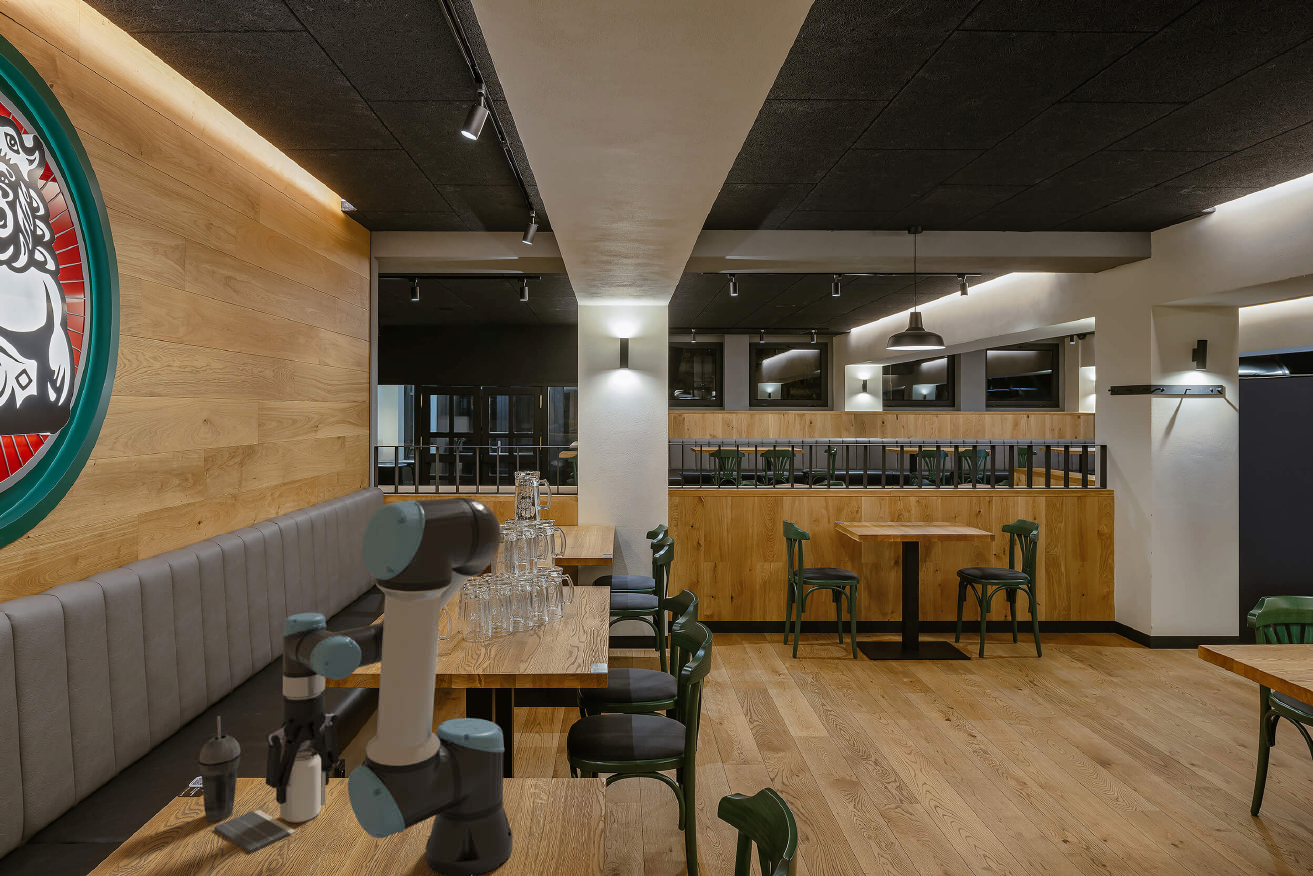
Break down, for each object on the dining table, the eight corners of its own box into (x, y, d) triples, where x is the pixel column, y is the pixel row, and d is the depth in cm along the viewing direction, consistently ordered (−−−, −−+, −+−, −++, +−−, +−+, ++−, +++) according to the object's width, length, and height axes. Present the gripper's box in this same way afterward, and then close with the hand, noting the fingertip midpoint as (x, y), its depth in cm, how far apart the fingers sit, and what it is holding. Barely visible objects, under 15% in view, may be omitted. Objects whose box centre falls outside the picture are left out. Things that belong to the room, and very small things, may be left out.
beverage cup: (244, 804, 146) (245, 705, 146) (235, 822, 139) (236, 719, 139) (203, 809, 144) (204, 709, 144) (192, 828, 137) (193, 723, 137)
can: (305, 825, 138) (306, 763, 138) (276, 822, 139) (277, 760, 139) (327, 808, 144) (328, 749, 144) (299, 805, 146) (300, 746, 146)
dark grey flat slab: (295, 832, 135) (295, 829, 135) (250, 853, 129) (250, 850, 129) (259, 811, 143) (259, 808, 143) (214, 830, 136) (214, 826, 136)
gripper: (338, 676, 152) (337, 785, 152) (244, 704, 136) (243, 826, 136) (359, 683, 148) (358, 796, 148) (264, 712, 132) (263, 838, 132)
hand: (303, 810), depth 142 cm, fingers closed on can, 6 cm apart
